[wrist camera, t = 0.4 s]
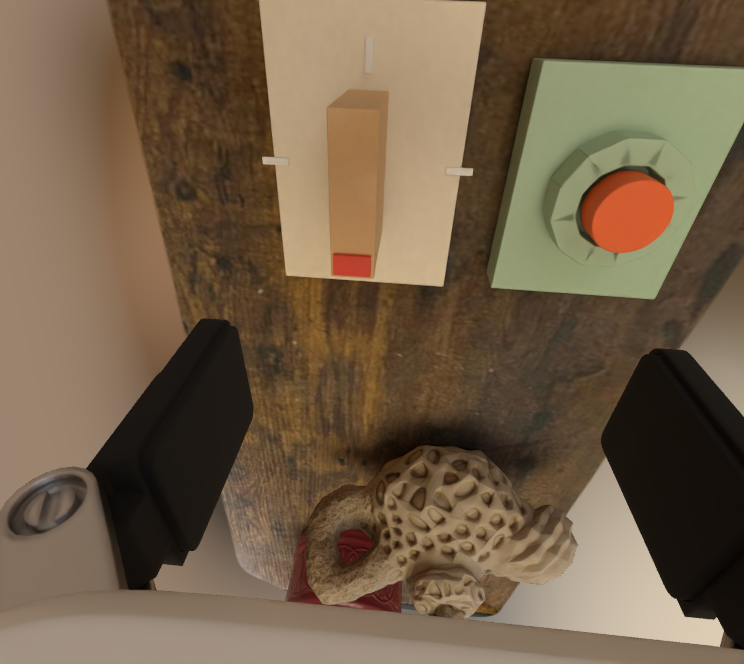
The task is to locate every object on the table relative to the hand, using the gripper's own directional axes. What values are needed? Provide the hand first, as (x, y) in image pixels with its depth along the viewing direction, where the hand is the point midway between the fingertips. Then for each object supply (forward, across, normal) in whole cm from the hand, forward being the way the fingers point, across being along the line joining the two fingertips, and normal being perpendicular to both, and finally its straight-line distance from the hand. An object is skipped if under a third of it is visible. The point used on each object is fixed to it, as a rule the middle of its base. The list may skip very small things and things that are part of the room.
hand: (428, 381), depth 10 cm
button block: (+18, -10, 0) cm, 21 cm away
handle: (+15, +3, -1) cm, 16 cm away
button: (+14, -10, 0) cm, 18 cm away
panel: (+18, +3, -1) cm, 18 cm away
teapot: (+18, -4, +26) cm, 32 cm away
